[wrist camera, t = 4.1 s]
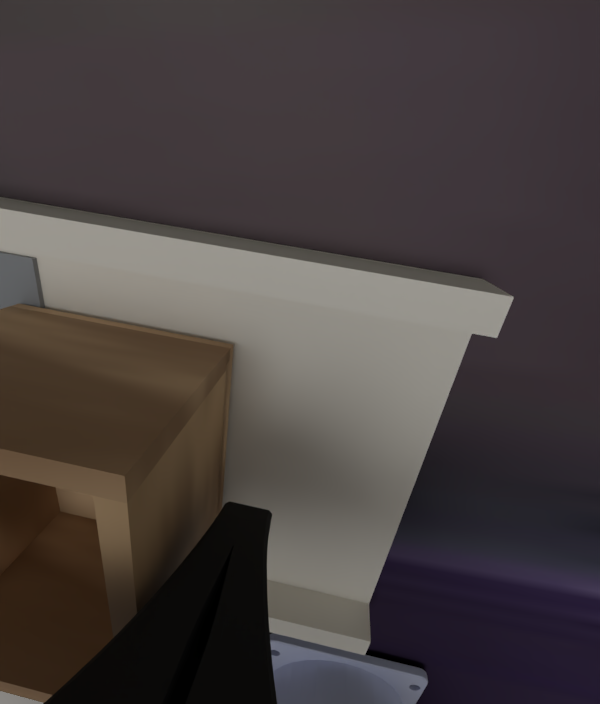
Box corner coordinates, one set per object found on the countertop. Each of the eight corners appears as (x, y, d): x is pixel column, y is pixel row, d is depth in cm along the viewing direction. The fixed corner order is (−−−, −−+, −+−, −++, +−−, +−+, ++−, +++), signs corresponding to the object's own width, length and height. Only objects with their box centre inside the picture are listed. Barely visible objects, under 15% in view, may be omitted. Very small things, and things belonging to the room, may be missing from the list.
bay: (363, 603, 16) (365, 655, 14) (-39, 508, 17) (-85, 545, 15) (482, 278, 9) (513, 296, 8) (-164, 168, 11) (-268, 161, 9)
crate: (219, 543, 14) (147, 730, 9) (60, 506, 15) (-93, 666, 10) (233, 344, 10) (124, 476, 5) (18, 303, 11) (-265, 389, 6)
